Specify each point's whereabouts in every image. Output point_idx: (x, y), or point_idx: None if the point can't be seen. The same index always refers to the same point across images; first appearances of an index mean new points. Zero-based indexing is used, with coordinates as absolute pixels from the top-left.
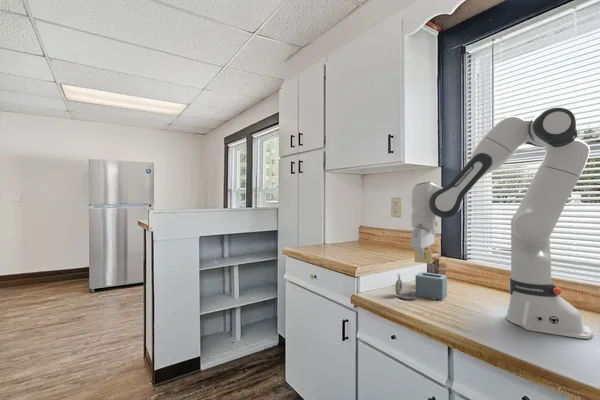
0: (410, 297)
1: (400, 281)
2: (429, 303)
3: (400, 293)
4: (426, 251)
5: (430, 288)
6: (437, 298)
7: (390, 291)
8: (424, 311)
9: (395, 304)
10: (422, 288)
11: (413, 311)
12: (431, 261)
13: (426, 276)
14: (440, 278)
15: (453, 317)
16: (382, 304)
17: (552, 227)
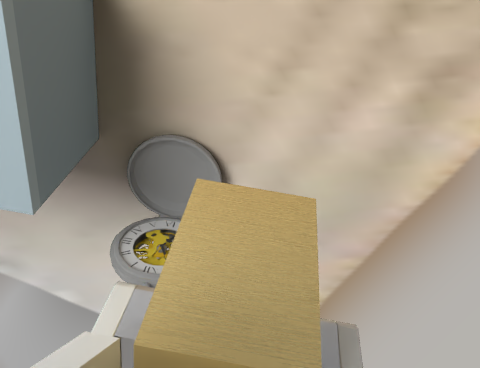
0: (161, 159)
1: (137, 267)
2: (205, 43)
3: (167, 218)
4: None
5: (63, 70)
6: (88, 2)
7: (110, 258)
8: (388, 56)
9: (325, 212)
10: (72, 121)
11: (413, 116)
12: (246, 200)
13: (9, 137)
14: None
15: None
16: (354, 263)
17: None
